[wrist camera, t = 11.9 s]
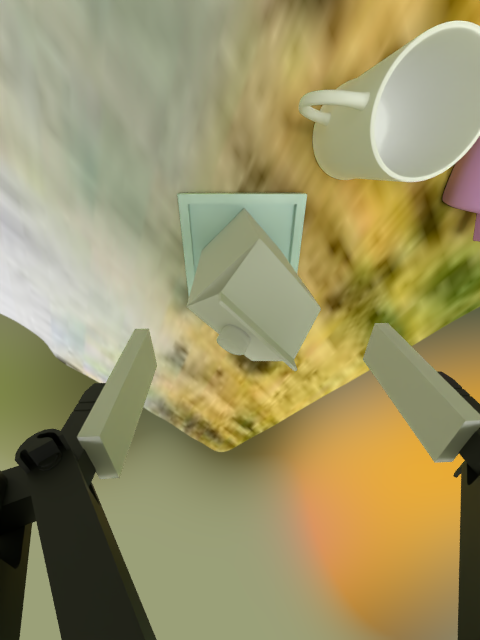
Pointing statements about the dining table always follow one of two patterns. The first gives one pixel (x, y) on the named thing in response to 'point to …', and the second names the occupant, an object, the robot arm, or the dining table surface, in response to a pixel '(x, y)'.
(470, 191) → the teapot
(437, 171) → the mug
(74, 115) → the dining table surface
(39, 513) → the robot arm
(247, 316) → the milk carton
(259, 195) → the tray
